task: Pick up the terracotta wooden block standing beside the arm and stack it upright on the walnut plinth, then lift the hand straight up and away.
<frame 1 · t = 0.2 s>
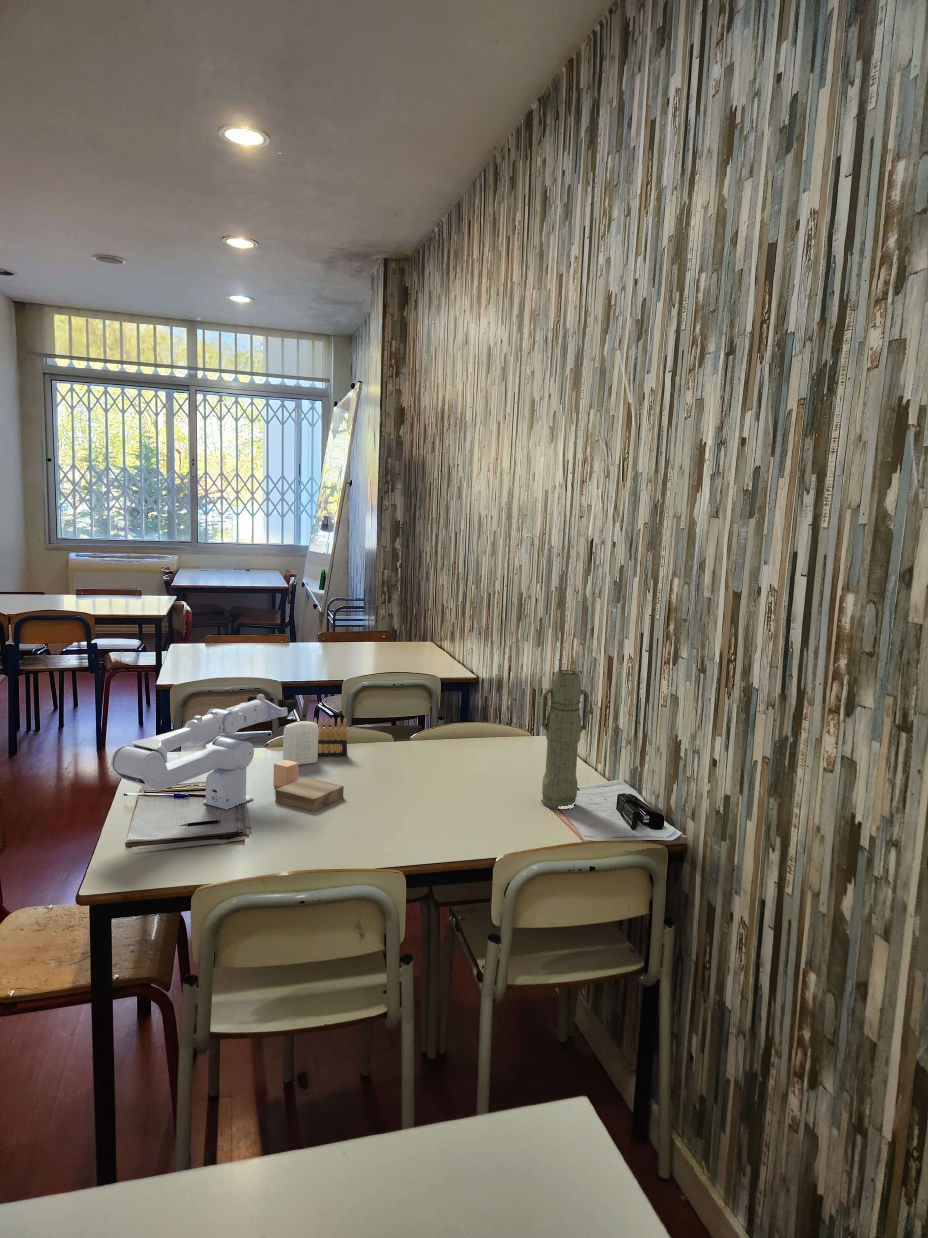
hand: (283, 703, 210), 21 cm above the table, tool horizontal, fingers open, 7 cm apart
walnut plinth: (309, 799, 199), on the table
terracotta block: (285, 785, 209), on the table
thermos: (558, 805, 205), on the table
white stone tablet: (300, 764, 228), on the table
ammunition clip: (329, 756, 237), on the table
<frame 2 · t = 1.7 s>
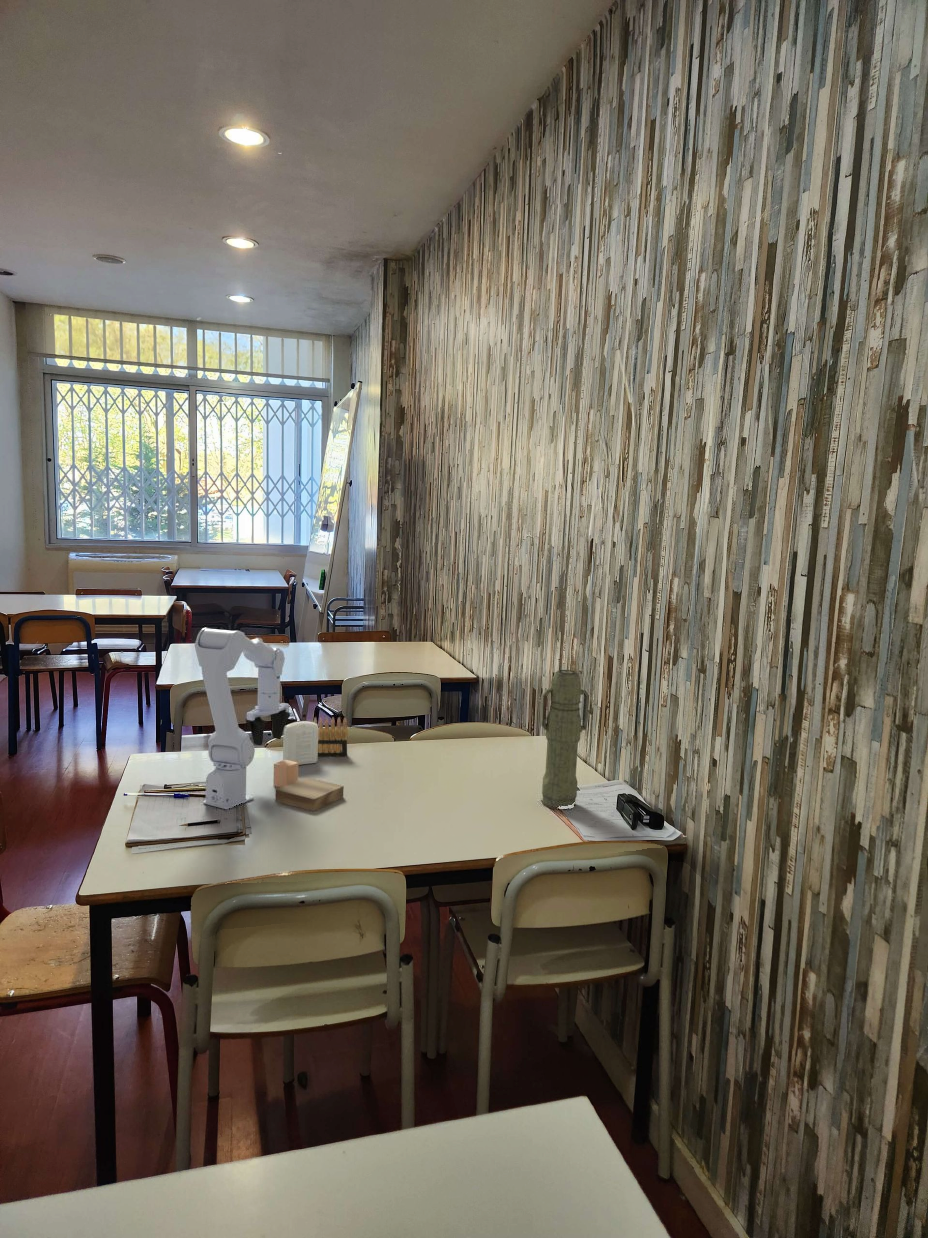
hand: (267, 741, 212), 10 cm above the table, tool pointing down, fingers open, 7 cm apart
nothing on the table moved.
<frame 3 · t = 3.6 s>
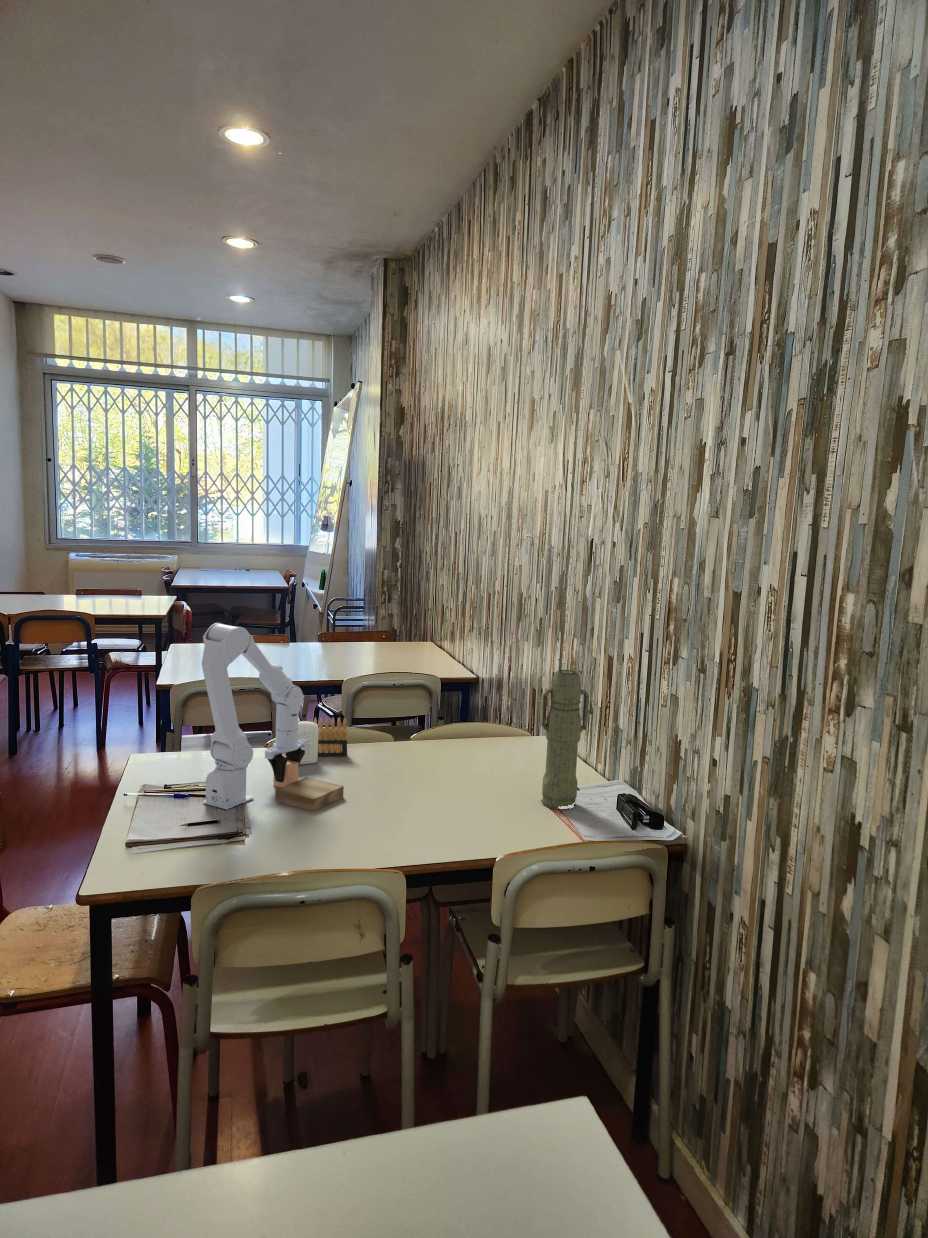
hand: (285, 779, 209), 2 cm above the table, tool pointing down, fingers closed on terracotta block, 4 cm apart
terracotta block: (285, 785, 209), on the table, touching gripper
everything else where it was.
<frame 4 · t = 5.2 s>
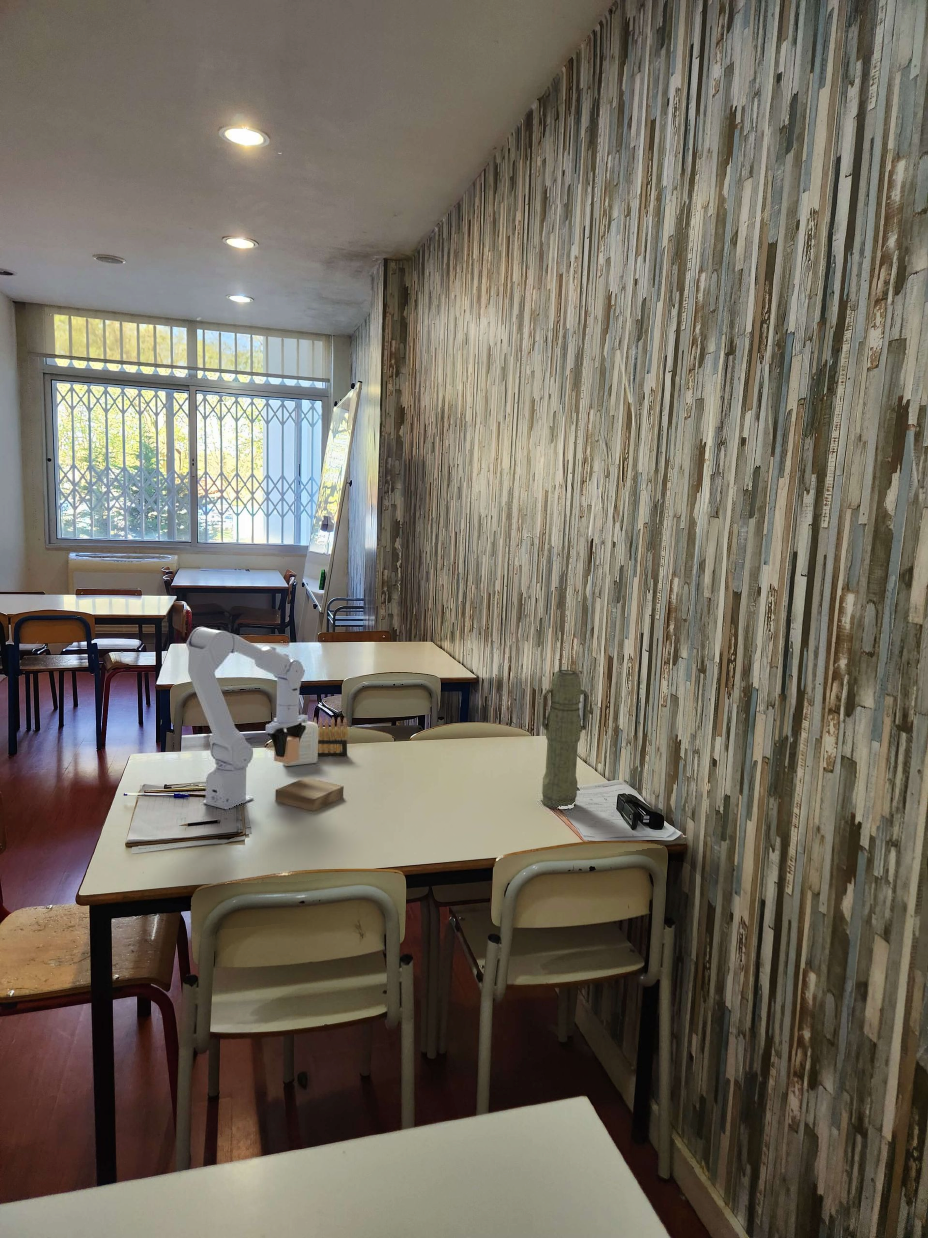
hand: (286, 754, 208), 8 cm above the table, tool pointing down, fingers closed on terracotta block, 4 cm apart
terracotta block: (286, 760, 208), point 7 cm above the table, touching gripper
everything else where it was.
when the fingers open (6 cm above the table, at t = 7.1 s): terracotta block stays where it is, resting on walnut plinth.
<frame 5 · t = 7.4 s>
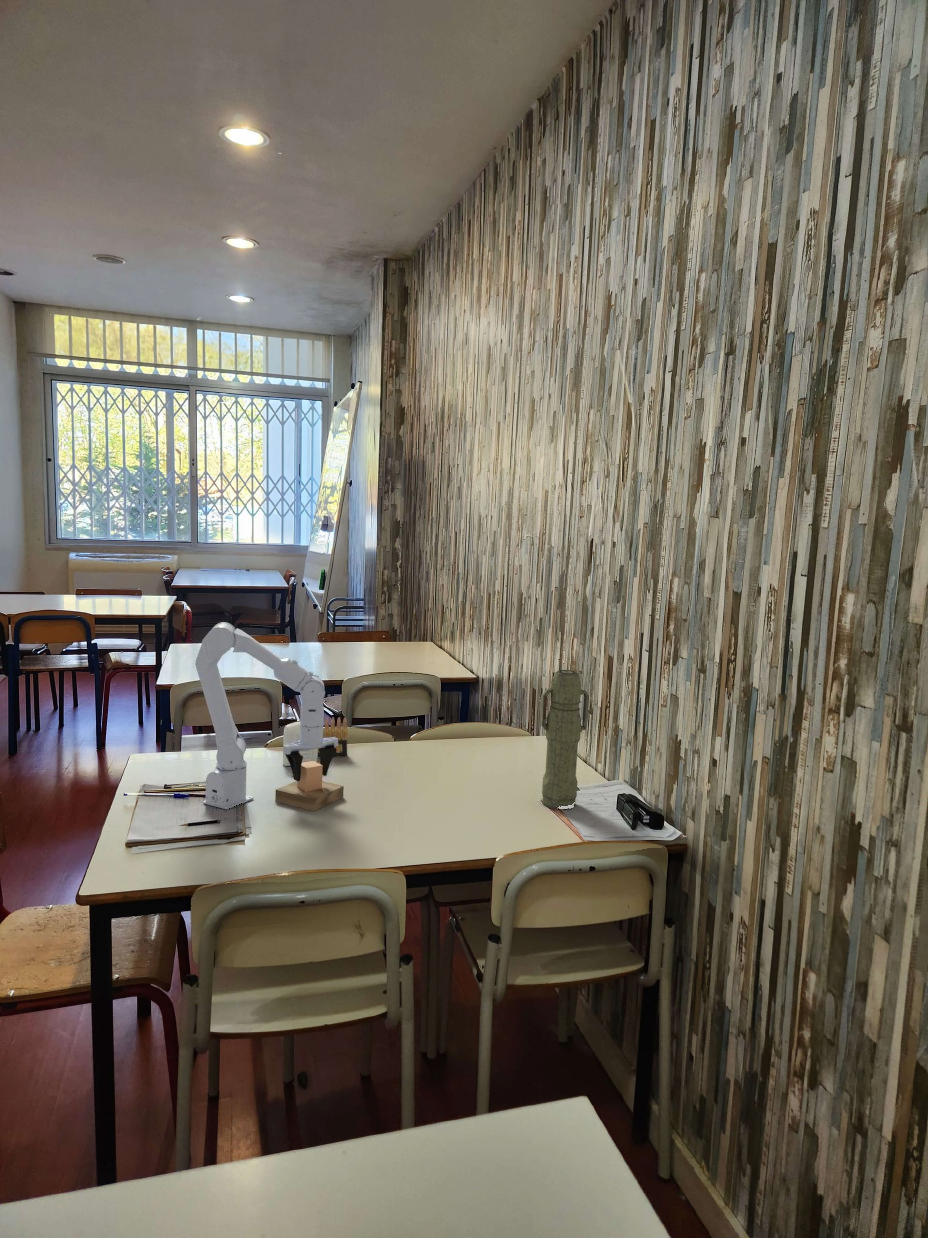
hand: (310, 777, 199), 6 cm above the table, tool pointing down, fingers open, 7 cm apart
terracotta block: (309, 787, 199), point 3 cm above the table, touching walnut plinth
everything else where it was.
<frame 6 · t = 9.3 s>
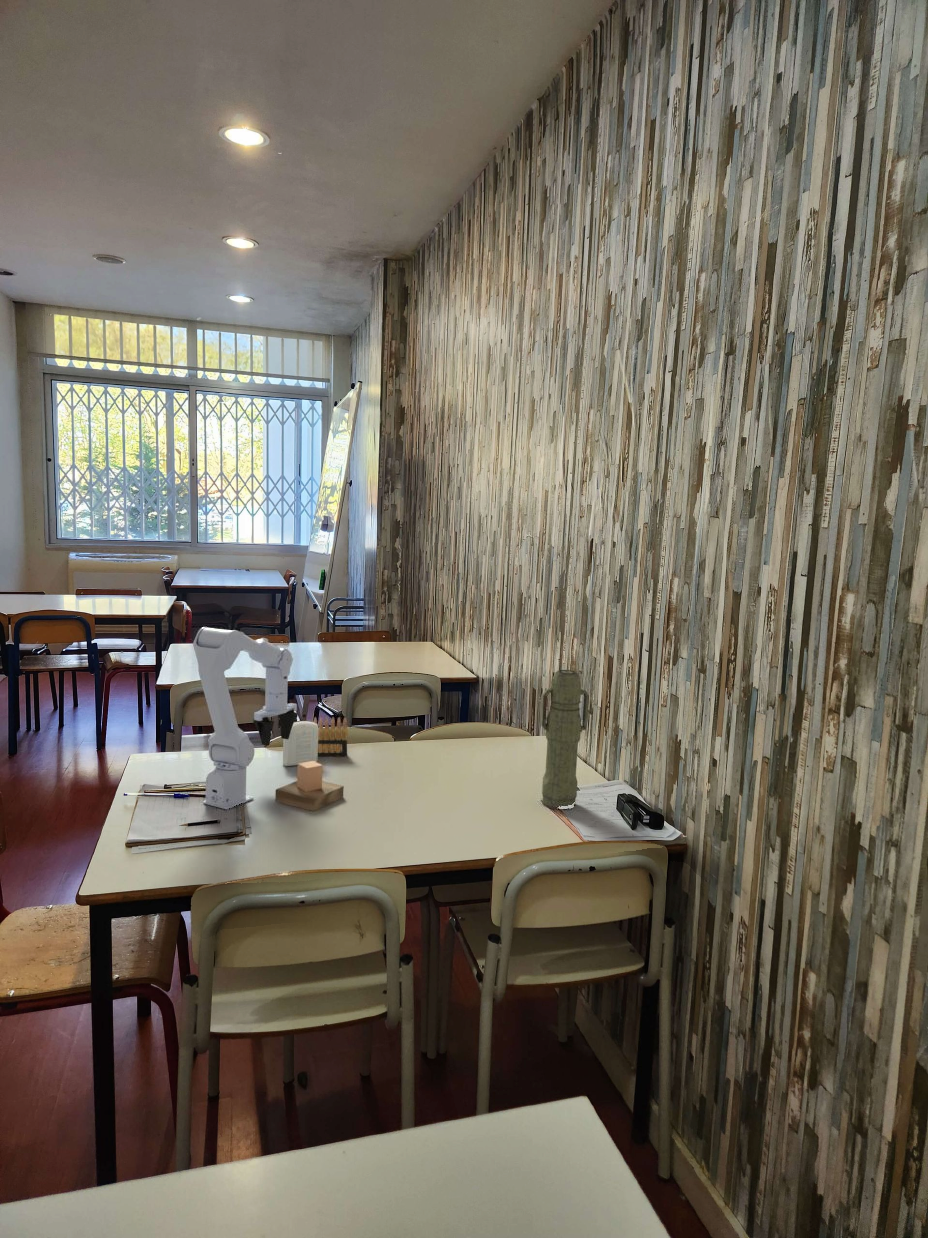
hand: (275, 741, 212), 10 cm above the table, tool pointing down, fingers open, 7 cm apart
nothing on the table moved.
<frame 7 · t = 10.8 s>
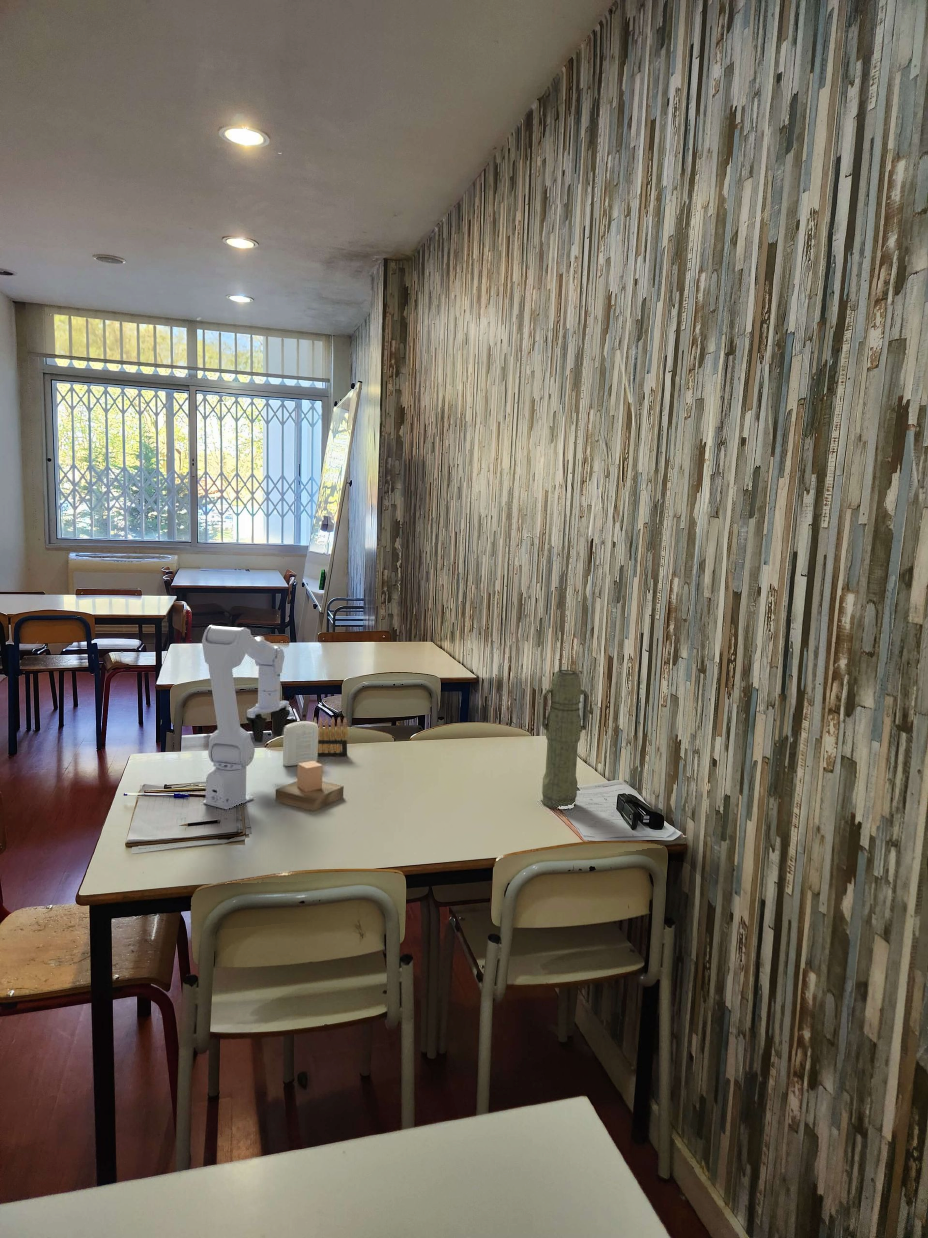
hand: (268, 738, 215), 10 cm above the table, tool pointing down, fingers open, 7 cm apart
nothing on the table moved.
at the end: terracotta block inside the target area on the walnut plinth (0.2 cm from its centre), point 3.0 cm above the walnut plinth's base; terracotta block tilted 0°; the gripper is holding nothing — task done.
